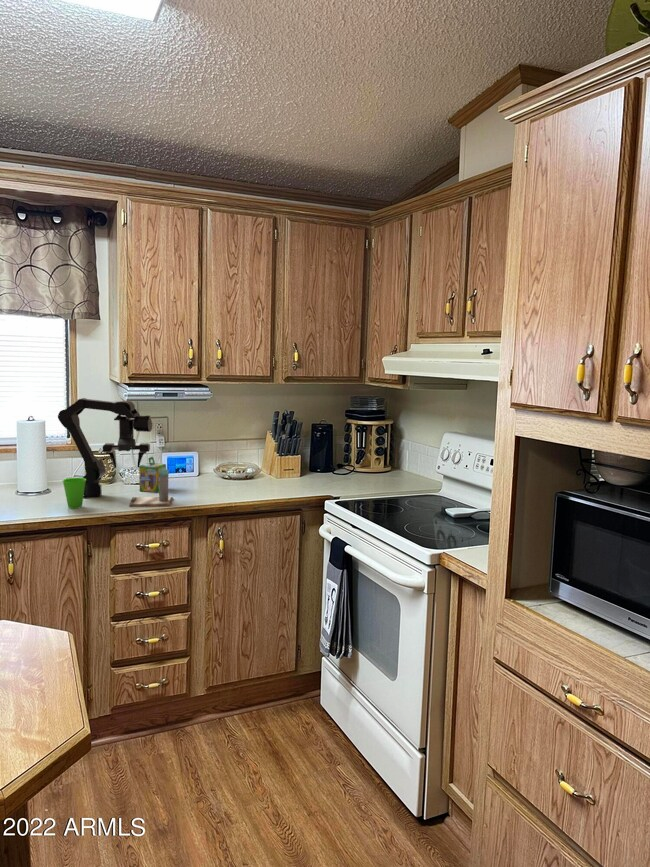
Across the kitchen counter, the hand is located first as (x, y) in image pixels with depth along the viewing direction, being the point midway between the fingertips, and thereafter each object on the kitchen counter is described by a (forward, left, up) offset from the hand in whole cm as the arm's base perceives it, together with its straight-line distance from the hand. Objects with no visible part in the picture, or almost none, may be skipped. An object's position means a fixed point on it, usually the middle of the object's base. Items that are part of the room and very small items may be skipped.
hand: (127, 467), depth 277 cm
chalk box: (+9, +15, -13) cm, 22 cm away
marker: (+16, -10, -12) cm, 22 cm away
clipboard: (+11, -9, -13) cm, 19 cm away
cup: (-18, -15, -13) cm, 27 cm away
